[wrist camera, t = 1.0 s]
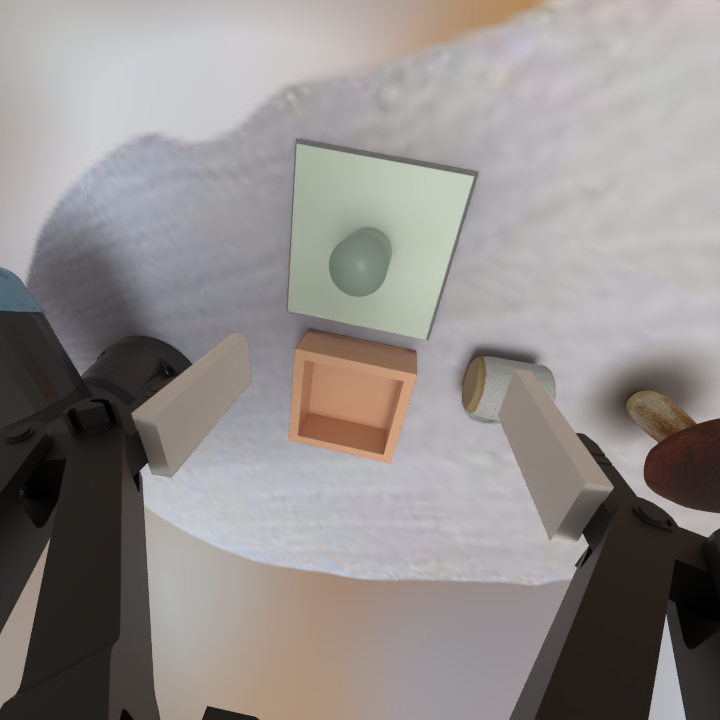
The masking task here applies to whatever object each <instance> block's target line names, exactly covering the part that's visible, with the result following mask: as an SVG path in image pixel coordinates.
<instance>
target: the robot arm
mask: <svg viewBox="0 0 720 720" xmlns="http://www.w3.org/2000/svg"><path fill="white" fill-rule="evenodd" d="M43 312H44V309H43V308H42V307H39V306H38V304H37V303H36V301H35V300H34V298H33V297H32V295H31V294H30V293H29V291H28V290H27V288H26V287H25V285H24V284H23V282H22V281H21V279H20V278H19V277H18V276H16V275H15V274H14V273H12V272H10V271H9V270H7V269H4V268H1V267H0V633H1V631H2V629H3V627H4V626H5V624H6V622H7V619H8V618H9V616H10V614H11V612H12V610H13V608H14V606H15V604H16V602H17V600H18V598H19V597H20V595H21V592H22V591H23V589H24V587H25V585H26V583H27V581H28V579H29V577H30V575H31V573H32V572H33V570H34V568H35V566H36V564H37V562H38V560H39V558H40V556H41V554H42V552H43V550H44V548H45V546H46V545H47V543H48V541H49V539H50V544H49V549H48V553H47V558H46V563H45V568H44V573H43V578H42V583H41V588H40V593H39V598H38V603H37V608H36V613H35V618H34V623H33V628H32V632H31V638H30V642H29V648H28V653H27V657H26V663H25V667H24V672H23V677H22V681H21V685H20V688H19V690H18V691H17V693H16V695H15V696H14V697H12V698H10V699H9V700H8V701H6V702H5V703H4V704H3V706H2V707H1V709H0V720H160V715H159V710H158V706H157V701H156V697H155V691H154V680H153V679H154V678H153V661H152V643H151V625H150V608H149V589H148V573H147V554H146V538H145V537H146V536H145V520H144V501H143V483H142V475H141V473H140V470H141V469H142V468H143V467H144V466H145V465H146V464H147V463H148V464H149V467H150V470H151V473H152V474H153V475H159V476H165V477H171V478H172V477H173V476H174V474H175V473H176V472H177V471H178V470H179V468H180V467H181V466H182V465H183V463H184V462H185V461H186V460H187V459H188V457H189V456H190V455H191V454H192V453H193V451H194V450H195V449H196V448H197V447H198V445H199V444H200V443H201V442H202V441H203V439H204V438H205V437H206V436H207V435H208V433H209V432H210V431H211V430H212V428H213V427H214V426H215V425H216V424H217V422H218V421H219V420H220V419H221V418H222V416H223V415H224V414H225V413H226V412H227V410H228V409H229V408H230V407H231V406H232V404H233V403H234V402H235V401H236V399H237V398H238V397H239V396H240V395H241V393H242V392H243V391H244V390H245V389H246V387H247V386H248V385H249V384H250V383H251V381H252V378H251V369H250V359H249V349H248V339H247V335H245V334H237V333H232V334H230V335H229V336H228V337H227V338H225V339H224V340H223V341H222V342H220V343H219V344H218V345H217V346H215V347H214V348H213V349H212V350H210V351H209V352H208V353H207V354H205V355H204V356H203V357H202V358H200V359H199V360H198V361H197V362H195V363H194V364H193V365H191V364H190V363H189V361H188V360H187V359H186V358H185V357H184V356H183V355H181V354H180V353H179V352H178V351H176V350H175V349H174V348H172V347H170V346H169V345H167V344H165V343H163V342H161V341H158V340H156V339H153V338H149V337H142V336H133V337H128V338H125V339H122V340H120V341H118V342H116V343H114V344H112V345H111V346H109V347H108V348H106V349H105V350H104V351H103V352H102V353H101V354H100V356H99V357H98V359H97V361H96V362H95V363H94V364H93V365H92V366H91V367H90V368H89V369H88V370H87V371H86V372H85V373H84V374H83V375H82V376H80V374H79V373H78V371H77V369H76V368H75V366H74V364H73V363H72V361H71V359H70V358H69V356H68V354H67V353H66V351H65V349H64V348H63V346H62V344H61V343H60V341H59V339H58V338H57V336H56V334H55V333H54V331H53V329H52V328H51V326H50V324H49V322H48V321H47V319H46V317H45V315H44V313H43ZM498 417H499V420H500V422H501V424H502V427H503V429H504V432H505V434H506V436H507V439H508V441H509V443H510V446H511V448H512V451H513V453H514V455H515V458H516V460H517V463H518V465H519V467H520V470H521V472H522V475H523V477H524V479H525V482H526V484H527V487H528V489H529V491H530V494H531V496H532V499H533V501H534V503H535V506H536V508H537V510H538V513H539V515H540V518H541V520H542V522H543V525H544V527H545V530H546V532H547V534H548V537H549V539H550V541H553V542H559V543H565V544H571V545H575V544H576V542H577V541H578V539H579V538H580V537H581V535H582V534H583V535H584V537H585V539H586V541H587V542H588V544H589V546H588V548H587V549H586V550H585V552H584V553H583V555H582V556H581V557H580V559H579V560H578V562H577V563H576V564H575V566H576V567H577V570H576V572H575V574H574V576H573V579H572V581H571V583H570V585H569V588H568V590H567V592H566V594H565V596H564V599H563V601H562V603H561V605H560V608H559V610H558V612H557V614H556V616H555V619H554V621H553V623H552V625H551V628H550V630H549V632H548V634H547V637H546V639H545V641H544V643H543V645H542V648H541V650H540V652H539V655H538V657H537V659H536V661H535V663H534V666H533V668H532V670H531V672H530V674H529V677H528V679H527V681H526V683H525V686H524V688H523V690H522V692H521V695H520V697H519V699H518V701H517V703H516V706H515V708H514V710H513V712H512V715H511V717H510V719H509V720H648V718H649V712H650V706H651V700H652V694H653V688H654V682H655V676H656V670H657V664H658V658H659V652H660V646H661V640H662V634H663V628H664V623H665V617H666V615H667V620H668V625H669V631H670V636H671V642H672V646H673V652H674V658H675V662H676V668H677V674H678V679H679V684H680V690H681V695H682V701H683V706H684V710H685V716H686V720H720V529H718V530H716V531H715V532H713V533H712V534H711V535H710V536H709V537H708V538H707V537H705V536H702V535H699V534H697V533H694V532H691V531H689V530H686V529H683V528H681V527H678V525H677V524H676V522H675V521H674V520H673V518H672V517H671V516H670V515H669V514H668V513H666V512H665V511H664V510H663V509H661V508H660V507H658V506H657V505H655V504H654V503H652V502H650V501H647V500H645V499H643V498H639V497H637V496H636V494H635V493H634V492H633V491H632V489H631V488H630V487H629V485H628V484H627V483H626V481H625V480H624V479H623V478H622V476H621V475H620V474H619V472H618V471H617V470H616V468H615V467H614V466H612V463H611V462H610V461H609V459H608V458H607V457H605V454H604V453H603V451H602V450H601V449H600V448H599V446H598V445H597V444H596V443H595V442H594V441H592V440H591V439H590V438H588V437H587V436H586V435H585V434H581V433H575V432H574V430H573V429H572V428H571V426H570V425H569V423H568V422H567V421H566V419H565V418H564V416H563V415H562V414H561V412H560V411H559V409H558V408H557V407H556V405H555V404H554V402H553V401H552V400H551V398H550V397H549V395H548V394H547V393H546V391H545V390H544V388H543V387H542V385H541V384H540V383H539V381H538V380H537V378H536V377H535V376H534V374H533V373H532V371H526V370H518V369H514V372H513V375H512V378H511V380H510V383H509V386H508V389H507V391H506V394H505V397H504V400H503V402H502V405H501V408H500V411H499V413H498ZM50 537H51V538H50ZM202 720H259V719H258V718H256V717H254V716H249V715H244V714H240V713H236V712H231V711H227V710H223V709H218V708H214V707H209V706H207V708H206V711H205V713H204V716H203V718H202Z"/></svg>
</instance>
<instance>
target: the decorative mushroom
mask: <svg viewBox="0 0 720 720" xmlns="http://www.w3.org/2000/svg"><path fill="white" fill-rule="evenodd" d="M626 409H627V412H628V414H629V416H630V417H631V418H632V419H633V420H634V421H635V422H636V423H637V424H638V425H639V426H640V427H641V428H642V429H643V430H644V431H645V432H646V433H648V434H649V435H650V436H651V437H652V438H654V439H655V440H656V441H657V442H658V444H657V445H656V446H654V447H653V448H652V449H651V450H650V452H649V453H648V455H647V457H646V460H645V465H644V479H645V482H646V484H647V486H648V487H649V488H650V489H651V490H652V491H654V492H655V493H656V494H658V495H660V496H662V497H663V498H666V499H668V500H670V501H672V502H674V503H676V504H679V505H681V506H684V507H687V508H691V509H695V510H701V511H706V512H714V513H720V418H719V419H714V420H710V421H706V422H703V423H699V424H696V422H695V421H694V420H693V419H692V418H690V417H689V416H688V415H687V414H686V413H685V412H684V411H683V410H682V409H681V408H679V407H678V406H677V405H676V404H675V403H673V402H672V401H671V400H670V399H669V398H667V397H666V396H664V395H662V394H660V393H658V392H654V391H639V392H637V393H635V394H634V395H632V396H631V397H630V398H629V399H628V401H627V403H626Z"/></svg>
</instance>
